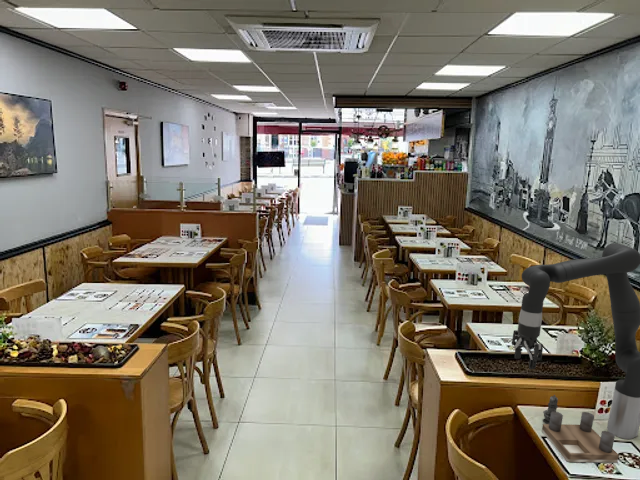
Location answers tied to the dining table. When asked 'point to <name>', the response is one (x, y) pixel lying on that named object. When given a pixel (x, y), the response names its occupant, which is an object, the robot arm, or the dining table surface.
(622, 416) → the robot arm
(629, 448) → the dining table surface
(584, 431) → the wooden peg stand
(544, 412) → the grey chess piece
